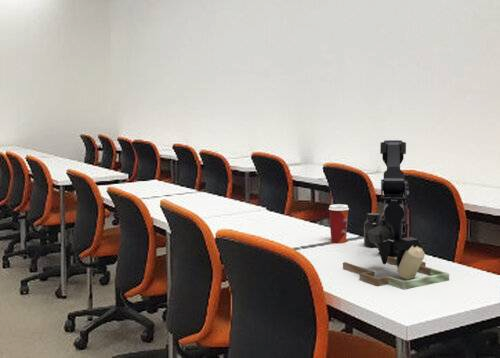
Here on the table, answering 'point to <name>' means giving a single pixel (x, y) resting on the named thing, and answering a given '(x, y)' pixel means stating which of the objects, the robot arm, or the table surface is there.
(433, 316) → the table surface
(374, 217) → the supplement bottle
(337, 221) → the paper cup
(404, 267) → the candle
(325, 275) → the table surface
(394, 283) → the trap lane
